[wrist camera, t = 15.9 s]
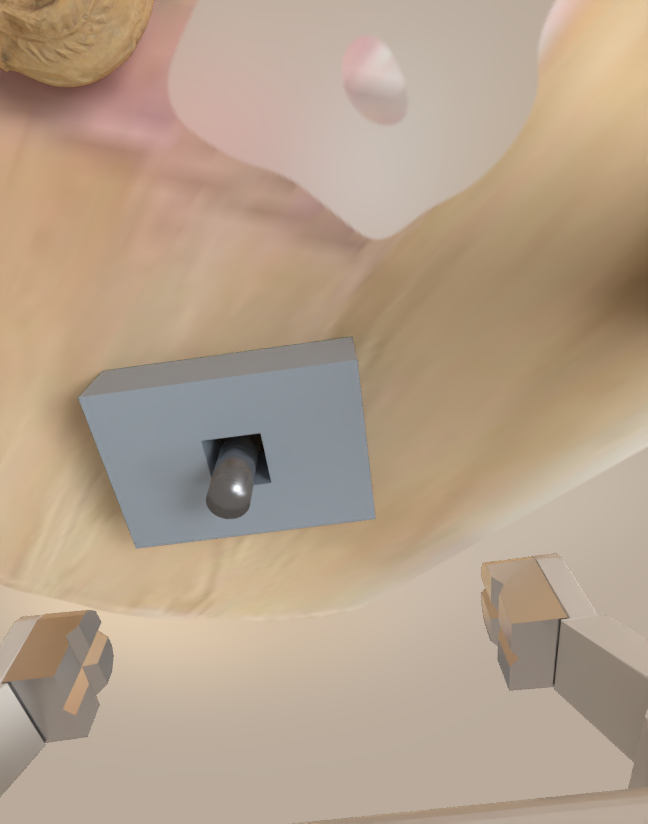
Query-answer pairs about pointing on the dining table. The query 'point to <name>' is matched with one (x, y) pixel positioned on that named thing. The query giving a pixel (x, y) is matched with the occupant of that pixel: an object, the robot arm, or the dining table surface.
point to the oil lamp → (70, 38)
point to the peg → (234, 476)
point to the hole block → (228, 417)
